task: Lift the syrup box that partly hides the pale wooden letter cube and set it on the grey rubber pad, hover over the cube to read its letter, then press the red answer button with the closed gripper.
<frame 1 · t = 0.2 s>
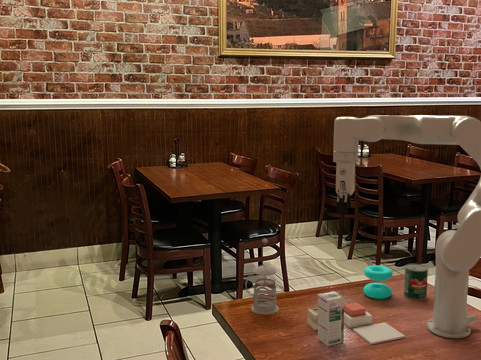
hand: (343, 210, 165), 37 cm above the table, tool pointing down, fingers open, 9 cm apart
grey pad: (378, 333, 161), on the table
answer button: (354, 310, 170), point 3 cm above the table, slide at 0.0 cm
french press: (262, 309, 181), on the table
donuts: (377, 295, 192), on the table
button housing: (354, 321, 170), on the table
canned tomato: (415, 296, 191), on the table
syrup box: (330, 341, 157), on the table
letter cube: (317, 325, 168), on the table
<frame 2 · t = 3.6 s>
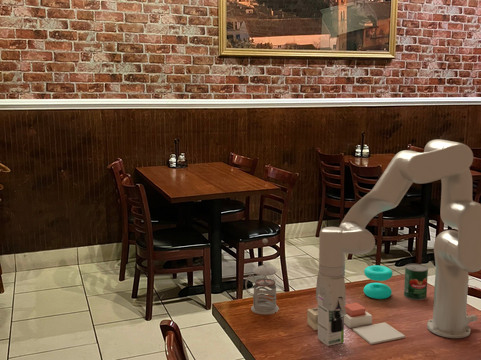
hand: (330, 326, 157), 5 cm above the table, tool pointing down, fingers closed on syrup box, 5 cm apart
syrup box: (330, 341, 157), on the table, touching gripper
everything else where it was.
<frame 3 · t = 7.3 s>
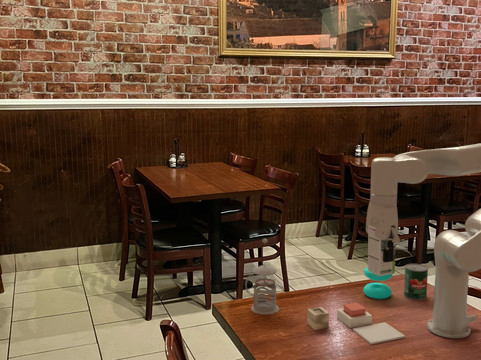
hand: (381, 257, 157), 24 cm above the table, tool pointing down, fingers closed on syrup box, 5 cm apart
syrup box: (380, 272, 158), point 20 cm above the table, touching gripper
everything else where it was.
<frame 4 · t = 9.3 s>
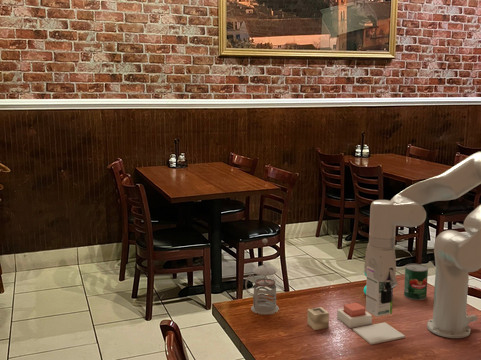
hand: (379, 298, 159), 12 cm above the table, tool pointing down, fingers closed on syrup box, 5 cm apart
syrup box: (378, 312, 160), point 7 cm above the table, touching gripper
everything else where it was.
when the fingers open (6 cm above the table, at t = 10.9 s): syrup box drops 1 cm, resting on grey pad.
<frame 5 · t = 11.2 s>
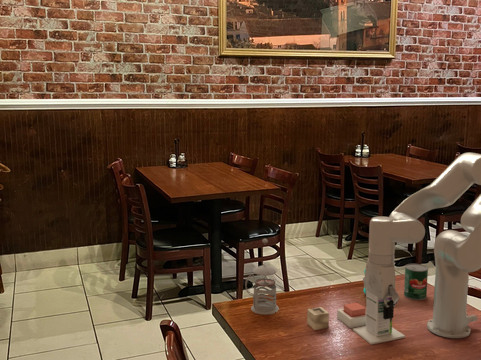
hand: (379, 312, 160), 7 cm above the table, tool pointing down, fingers open, 8 cm apart
syrup box: (378, 332, 162), resting on grey pad
everything else where it was.
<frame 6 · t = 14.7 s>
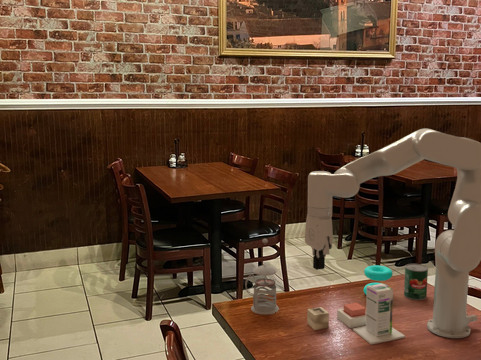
hand: (318, 268, 164), 19 cm above the table, tool pointing down, fingers closed
nothing on the table moved.
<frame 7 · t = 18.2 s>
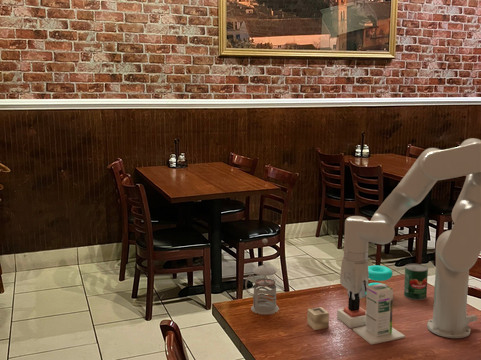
hand: (353, 309, 170), 4 cm above the table, tool pointing down, fingers closed
answer button: (354, 313, 170), point 2 cm above the table, slide at 1.0 cm, touching gripper
everything else where it was.
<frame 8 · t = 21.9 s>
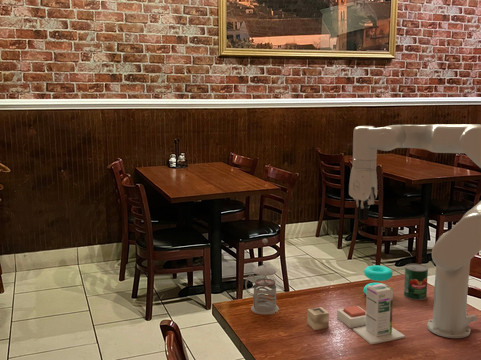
hand: (362, 219, 173), 32 cm above the table, tool pointing down, fingers closed
answer button: (354, 314, 170), point 2 cm above the table, slide at 1.1 cm
everything else where it was.
at the end: syrup box inside the target area on the grey pad (0.4 cm from its centre), point 0.4 cm above the grey pad's base; answer button slide at 1.1 cm; letter cube moved 0.1 cm from its start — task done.
